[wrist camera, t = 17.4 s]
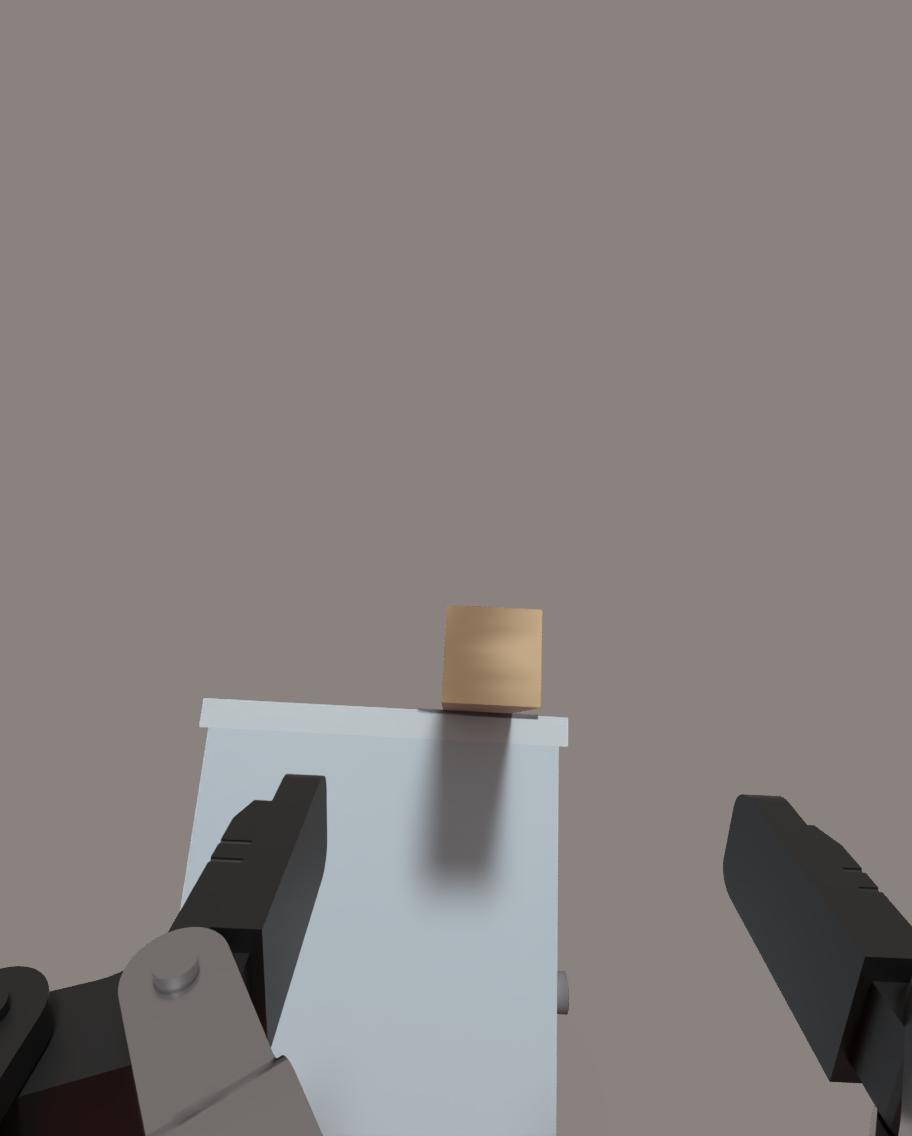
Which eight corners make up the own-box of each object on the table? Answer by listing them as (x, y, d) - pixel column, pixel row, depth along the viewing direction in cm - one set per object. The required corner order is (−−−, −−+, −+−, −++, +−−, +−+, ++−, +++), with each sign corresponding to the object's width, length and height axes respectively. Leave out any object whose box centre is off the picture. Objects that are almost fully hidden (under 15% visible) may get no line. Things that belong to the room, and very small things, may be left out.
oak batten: (441, 702, 18) (447, 604, 19) (444, 715, 39) (446, 669, 40) (540, 707, 18) (542, 609, 19) (489, 718, 39) (491, 672, 40)
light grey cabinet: (27, 1811, 17) (203, 696, 26) (203, 1357, 30) (283, 706, 38) (592, 1843, 17) (586, 717, 26) (531, 1375, 30) (541, 720, 38)
